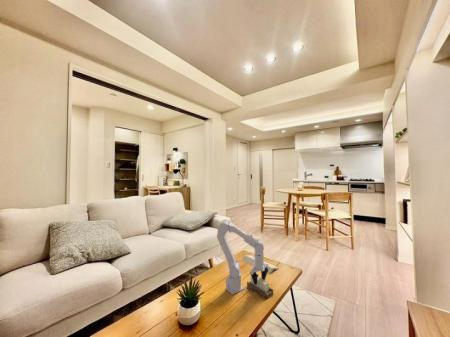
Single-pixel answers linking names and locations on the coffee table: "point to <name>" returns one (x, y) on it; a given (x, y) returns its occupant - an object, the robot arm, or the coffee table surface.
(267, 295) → the rack
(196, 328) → the coffee table surface
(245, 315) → the coffee table surface
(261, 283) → the light grey block
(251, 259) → the crown molding
